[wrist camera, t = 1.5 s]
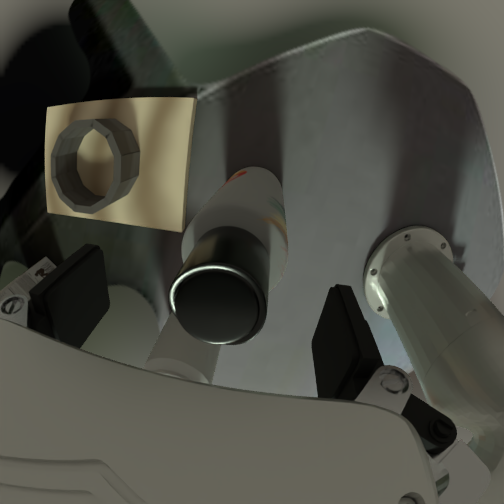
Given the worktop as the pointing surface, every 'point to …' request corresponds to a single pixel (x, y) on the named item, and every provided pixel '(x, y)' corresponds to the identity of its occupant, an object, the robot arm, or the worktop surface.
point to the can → (182, 354)
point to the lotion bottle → (232, 260)
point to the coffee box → (28, 279)
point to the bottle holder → (121, 160)
